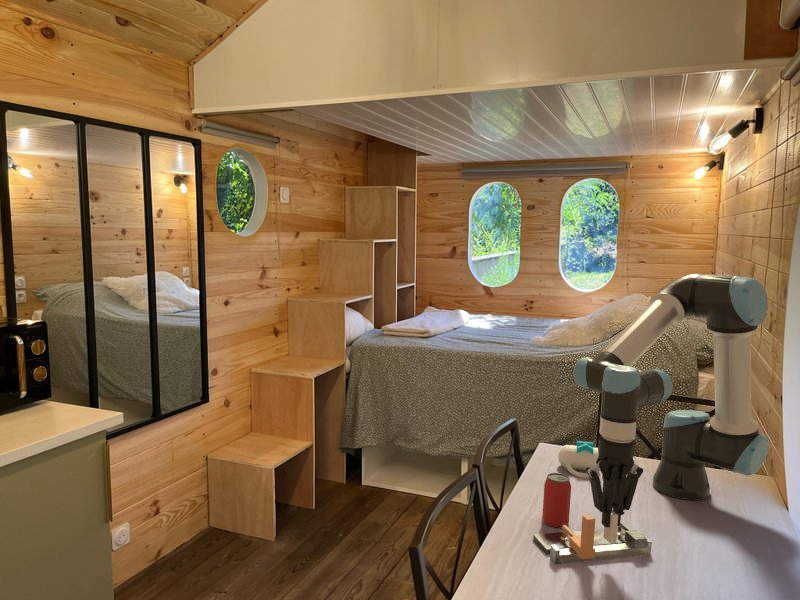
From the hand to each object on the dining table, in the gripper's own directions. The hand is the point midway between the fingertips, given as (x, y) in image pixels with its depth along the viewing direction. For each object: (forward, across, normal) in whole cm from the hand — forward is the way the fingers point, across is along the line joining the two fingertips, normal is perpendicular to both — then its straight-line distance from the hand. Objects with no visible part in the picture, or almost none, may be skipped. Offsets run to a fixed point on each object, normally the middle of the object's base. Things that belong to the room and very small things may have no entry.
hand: (609, 539), depth 136 cm
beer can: (+6, +3, -20) cm, 21 cm away
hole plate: (+6, 0, -9) cm, 11 cm away
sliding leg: (+4, +6, -5) cm, 8 cm away
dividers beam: (+6, 0, -6) cm, 8 cm away
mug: (+6, -20, -51) cm, 55 cm away
